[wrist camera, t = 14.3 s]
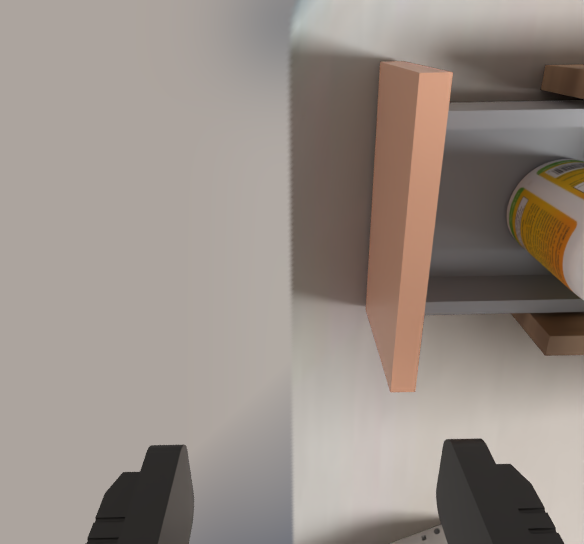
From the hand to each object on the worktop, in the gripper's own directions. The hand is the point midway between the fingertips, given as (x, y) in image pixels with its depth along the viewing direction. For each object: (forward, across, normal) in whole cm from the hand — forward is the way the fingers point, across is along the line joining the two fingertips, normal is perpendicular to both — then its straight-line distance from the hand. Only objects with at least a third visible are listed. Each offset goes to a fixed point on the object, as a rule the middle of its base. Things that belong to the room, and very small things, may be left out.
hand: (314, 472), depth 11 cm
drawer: (+19, -12, 0) cm, 23 cm away
